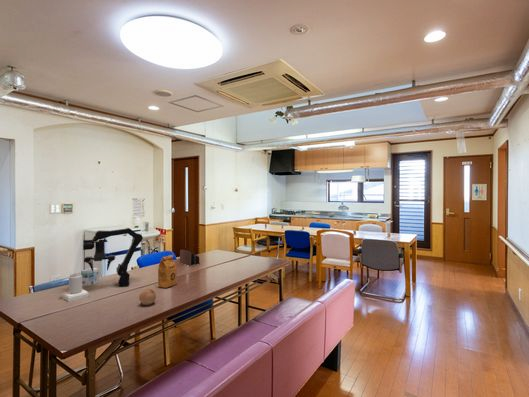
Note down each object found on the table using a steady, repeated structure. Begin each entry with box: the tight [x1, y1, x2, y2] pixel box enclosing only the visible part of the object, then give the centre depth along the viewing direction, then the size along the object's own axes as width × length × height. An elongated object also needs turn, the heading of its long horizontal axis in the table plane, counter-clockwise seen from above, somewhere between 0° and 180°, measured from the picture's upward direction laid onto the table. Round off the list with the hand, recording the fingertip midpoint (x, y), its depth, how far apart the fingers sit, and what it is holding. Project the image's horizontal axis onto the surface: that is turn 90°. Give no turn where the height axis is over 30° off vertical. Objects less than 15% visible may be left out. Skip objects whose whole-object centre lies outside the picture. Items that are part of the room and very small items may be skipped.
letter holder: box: [179, 249, 200, 267], centre depth 287 cm, size 10×20×14 cm, turn 45°
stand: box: [61, 288, 90, 302], centre depth 194 cm, size 12×12×3 cm
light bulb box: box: [80, 267, 100, 287], centre depth 224 cm, size 11×7×11 cm, turn 169°
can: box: [68, 272, 83, 294], centre depth 194 cm, size 8×8×12 cm
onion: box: [138, 288, 157, 306], centre depth 181 cm, size 10×9×10 cm
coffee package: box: [157, 254, 178, 289], centre depth 217 cm, size 10×12×22 cm
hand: (100, 270), depth 210 cm, fingers open, 9 cm apart
